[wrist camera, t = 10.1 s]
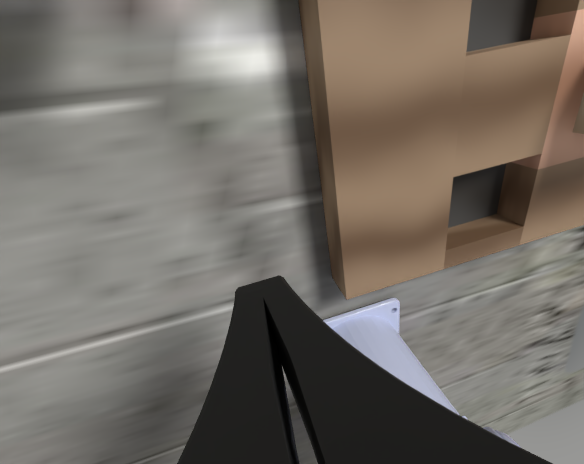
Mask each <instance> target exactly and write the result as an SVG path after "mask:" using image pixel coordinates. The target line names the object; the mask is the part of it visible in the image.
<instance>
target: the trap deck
mask: <svg viewBox="0 0 584 464" xmlns="http://www.w3.org/2000/svg"><path fill="white" fill-rule="evenodd" d="M298 1H299V9H300V17H301V26H302V34H303V42H304V50H305V58H306V67H307V75H308V83H309V91H310V99H311V108H312V116H313V124H314V132H315V140H316V148H317V157H318V165H319V173H320V181H321V189H322V198H323V206H324V214H325V222H326V230H327V239H328V247H329V255H330V263H331V271H332V278H333V279H334V281H335V282H336V284H337V286H338V287H339V289H340V290H341V292H342V293H343V295H344V296H345V298H346V300H347V299H350V298H354V297H357V296H360V295H363V294H366V293H369V292H373V291H376V290H379V289H382V288H385V287H388V286H392V285H395V284H398V283H401V282H404V281H407V280H411V279H414V278H417V277H420V276H423V275H426V274H430V273H433V272H436V271H439V270H442V269H445V268H449V267H452V266H455V265H458V264H461V263H464V262H468V261H471V260H474V259H477V258H480V257H483V256H487V255H490V254H493V253H496V252H499V251H502V250H506V249H509V248H512V247H515V246H518V245H521V244H525V243H528V242H531V241H534V240H537V239H540V238H544V237H547V236H550V235H553V234H556V233H559V232H563V231H566V230H569V229H572V228H575V227H578V226H582V225H584V134H580V133H573V128H574V125H575V121H576V118H577V114H578V111H579V107H580V104H581V100H582V97H583V93H584V0H298Z"/></svg>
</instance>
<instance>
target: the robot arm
mask: <svg viewBox="0 0 584 464" xmlns="http://www.w3.org/2000/svg"><path fill="white" fill-rule="evenodd" d="M399 311H400V303H399V301H398V300H397V299H396V298H390V299H387V300H384V301H381V302H378V303H375V304H372V305H369V306H366V307H362V308H359V309H356V310H353V311H350V312H347V313H344V314H341V315H338V316H335V317H331V318H328V319H325V320H322V319H321V318H320V317H319V316H317V315H316V314H315V313H314V312H313V311H312V310H311V309H310V308H309V307H308V306H307V305H306V304H305V303H304V302H303V301H302V300H301V298H300V297H299V296H298V295H297V294H296V293H295V292H294V291H293V289H292V288H291V287H290V286H289V284H288V283H287V282H286V280H285V279H284V278H283V277H281V276H280V275H279V276H276V277H273V278H269V279H266V280H262V281H259V282H255V283H252V284H249V285H245V286H242V287H238V289H237V290H236V292H235V301H234V307H233V313H232V317H231V322H230V326H229V330H228V334H227V337H226V341H225V345H224V348H223V352H222V355H221V358H220V361H219V364H218V367H217V370H216V373H215V375H214V378H213V381H212V384H211V387H210V390H209V392H208V395H207V397H206V400H205V403H204V405H203V407H202V410H201V412H200V415H199V417H198V419H197V422H196V424H195V426H194V429H193V431H192V433H191V436H190V438H189V440H188V442H187V444H186V446H185V448H184V450H183V453H182V455H181V457H180V459H179V461H178V463H177V464H299V459H298V455H297V450H296V445H295V439H294V433H293V427H292V422H291V416H290V410H289V404H288V398H287V393H286V387H285V381H284V375H283V370H282V366H283V369H284V372H285V374H286V377H287V380H288V382H289V385H290V388H291V390H292V393H293V396H294V398H295V401H296V404H297V406H298V409H299V412H300V414H301V417H302V420H303V422H304V425H305V428H306V430H307V433H308V435H309V438H310V441H311V444H312V447H313V450H314V453H315V456H316V459H317V462H318V464H552V463H550V462H548V461H546V460H544V459H542V458H540V457H538V456H536V455H534V454H532V453H530V452H528V451H526V450H524V449H522V448H521V447H520V446H519V445H518V444H517V443H516V442H515V441H514V440H513V439H512V438H511V437H510V436H508V435H507V434H506V433H503V432H500V431H497V430H493V429H492V428H491V427H484V428H482V427H480V426H478V425H476V424H474V423H472V422H471V421H469V420H468V419H467V418H466V417H465V416H460V415H459V413H458V412H457V411H456V409H455V408H454V407H453V406H452V404H451V403H450V402H449V400H448V399H447V398H446V396H445V395H444V394H443V392H442V391H441V390H440V388H439V387H438V386H437V384H436V383H435V382H434V380H433V379H432V378H431V376H430V375H429V374H428V372H427V371H426V370H425V369H424V367H423V366H422V365H421V363H420V362H419V361H418V359H417V358H416V357H415V355H414V354H413V353H412V351H411V350H410V349H409V347H408V346H407V345H406V343H405V342H404V341H403V339H402V338H401V337H400V335H399Z"/></svg>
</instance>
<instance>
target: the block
mask: <svg viewBox="0 0 584 464" xmlns="http://www.w3.org/2000/svg"><path fill="white" fill-rule="evenodd" d="M573 133H580V134H584V93H583V97H582V100H581V104H580V107H579V111H578V114H577V118H576V121H575V125H574V128H573Z"/></svg>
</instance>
